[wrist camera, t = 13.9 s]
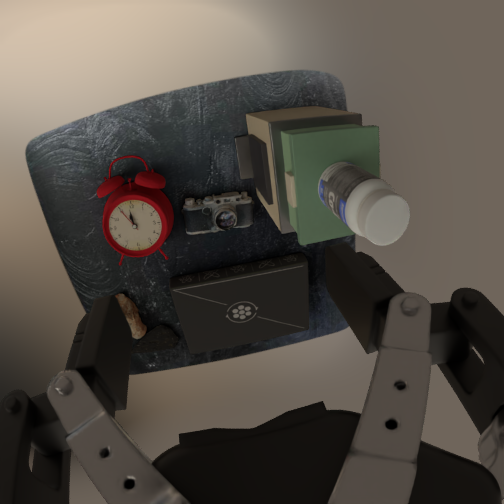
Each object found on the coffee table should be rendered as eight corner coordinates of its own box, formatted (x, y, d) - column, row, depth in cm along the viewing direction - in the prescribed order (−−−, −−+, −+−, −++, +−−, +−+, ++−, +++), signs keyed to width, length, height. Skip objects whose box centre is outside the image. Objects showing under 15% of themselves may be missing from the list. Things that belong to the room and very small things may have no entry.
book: (302, 250, 53) (308, 259, 50) (304, 319, 60) (309, 329, 57) (169, 276, 50) (168, 286, 48) (190, 343, 58) (190, 354, 55)
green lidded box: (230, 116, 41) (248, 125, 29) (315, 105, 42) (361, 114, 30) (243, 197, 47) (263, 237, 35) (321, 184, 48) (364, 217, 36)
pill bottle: (306, 184, 28) (348, 221, 21) (344, 150, 27) (397, 175, 20) (335, 219, 30) (379, 262, 23) (370, 187, 29) (423, 221, 22)
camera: (179, 197, 45) (179, 207, 41) (251, 189, 46) (257, 197, 43) (184, 230, 47) (184, 242, 44) (253, 221, 49) (259, 232, 45)
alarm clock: (110, 271, 44) (79, 180, 34) (115, 244, 49) (91, 158, 39) (179, 262, 45) (162, 166, 36) (178, 235, 50) (164, 146, 40)
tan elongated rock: (134, 285, 51) (106, 293, 49) (138, 296, 49) (108, 305, 46) (147, 331, 56) (122, 339, 54) (152, 344, 53) (125, 352, 51)
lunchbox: (273, 129, 30) (287, 135, 26) (359, 120, 31) (381, 126, 27) (284, 227, 35) (297, 246, 31) (361, 212, 36) (381, 228, 32)
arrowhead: (183, 345, 57) (138, 363, 57) (183, 342, 57) (138, 360, 57) (165, 323, 53) (119, 343, 53) (165, 320, 54) (119, 340, 54)
